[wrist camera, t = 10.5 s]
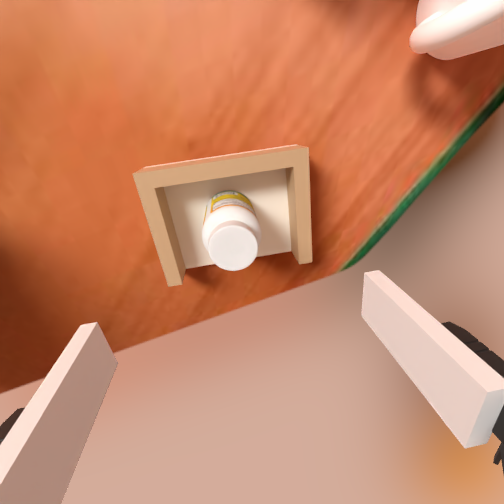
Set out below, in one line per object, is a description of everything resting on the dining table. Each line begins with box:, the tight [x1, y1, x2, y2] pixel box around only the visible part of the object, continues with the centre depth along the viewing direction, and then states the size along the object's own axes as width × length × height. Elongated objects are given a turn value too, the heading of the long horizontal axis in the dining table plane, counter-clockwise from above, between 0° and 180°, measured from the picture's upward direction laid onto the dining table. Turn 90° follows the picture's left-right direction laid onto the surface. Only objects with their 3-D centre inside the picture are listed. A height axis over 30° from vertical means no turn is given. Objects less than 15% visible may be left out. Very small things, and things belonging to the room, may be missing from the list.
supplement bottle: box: [202, 190, 262, 271], centre depth 25 cm, size 5×5×10 cm
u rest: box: [133, 145, 312, 287], centre depth 28 cm, size 16×12×4 cm
